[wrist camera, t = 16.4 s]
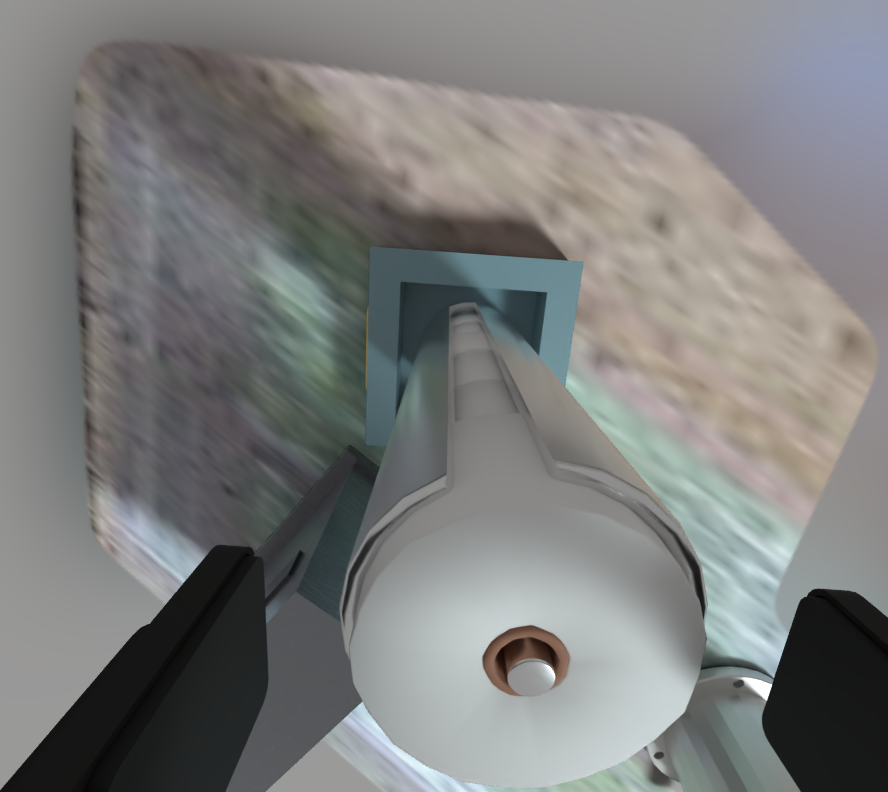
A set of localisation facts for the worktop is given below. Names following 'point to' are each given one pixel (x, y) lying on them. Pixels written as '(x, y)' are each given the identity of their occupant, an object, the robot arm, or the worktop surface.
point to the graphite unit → (306, 623)
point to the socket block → (448, 283)
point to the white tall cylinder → (515, 574)
